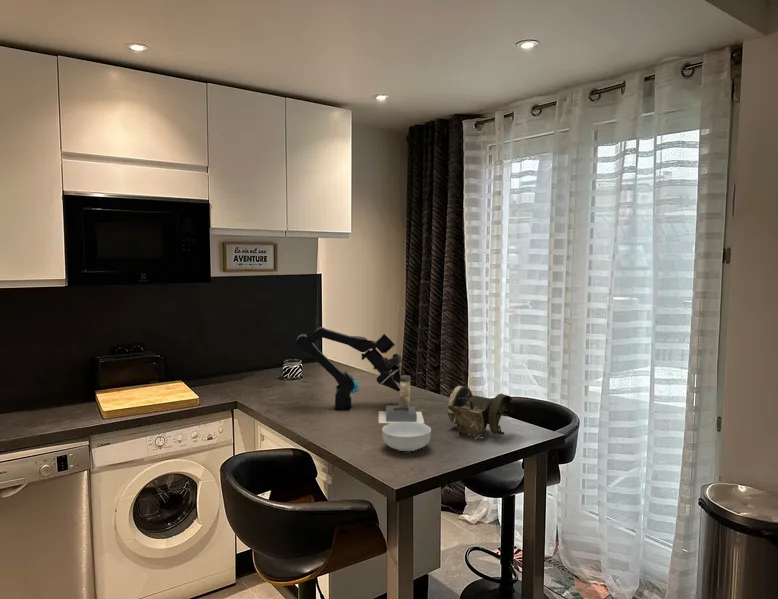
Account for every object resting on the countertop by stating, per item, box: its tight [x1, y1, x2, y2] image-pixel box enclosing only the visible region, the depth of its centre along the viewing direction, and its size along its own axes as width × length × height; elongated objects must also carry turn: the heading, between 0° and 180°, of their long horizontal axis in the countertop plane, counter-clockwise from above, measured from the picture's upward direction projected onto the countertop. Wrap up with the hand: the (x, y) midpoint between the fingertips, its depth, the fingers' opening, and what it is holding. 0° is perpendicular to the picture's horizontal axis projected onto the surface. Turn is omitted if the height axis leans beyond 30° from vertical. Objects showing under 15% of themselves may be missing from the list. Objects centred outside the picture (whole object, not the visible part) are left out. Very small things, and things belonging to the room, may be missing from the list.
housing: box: [385, 405, 417, 422], centre depth 224 cm, size 12×12×3 cm
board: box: [378, 410, 426, 425], centre depth 225 cm, size 18×16×1 cm
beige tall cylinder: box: [398, 374, 411, 406], centre depth 235 cm, size 4×4×15 cm
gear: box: [351, 377, 360, 393], centre depth 269 cm, size 11×6×10 cm
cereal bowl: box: [381, 422, 432, 452], centre depth 190 cm, size 17×17×7 cm
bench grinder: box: [447, 385, 515, 440], centre depth 206 cm, size 20×22×20 cm
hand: (402, 388), depth 235 cm, fingers open, 9 cm apart
